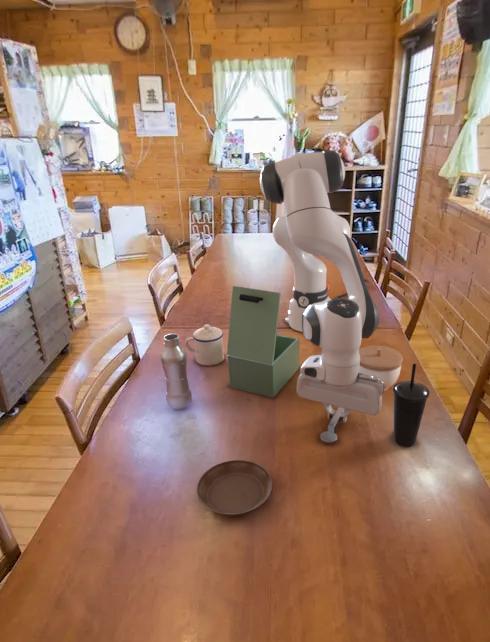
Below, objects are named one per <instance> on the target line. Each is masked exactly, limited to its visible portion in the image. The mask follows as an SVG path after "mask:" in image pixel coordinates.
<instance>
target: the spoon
mask: <svg viewBox="0 0 490 642" xmlns="http://www.w3.org/2000/svg"><path fill="white" fill-rule="evenodd" d="M341 412H345V411H344V408H341V407H337V409H336V413H335V414H334V416H333V418H332V419H330V421H329V423H328V425H327V431H322V432H321V433H320V435H319V441H320V442H321V443H322V444H323V445H327V446H332V445H334V444H336V443H337V442H338V434H337V432H338V430H339V429H340V427H341V425H342V423H343V422H341V421H339V419H340V418H339V416H340V414H341Z"/></svg>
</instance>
